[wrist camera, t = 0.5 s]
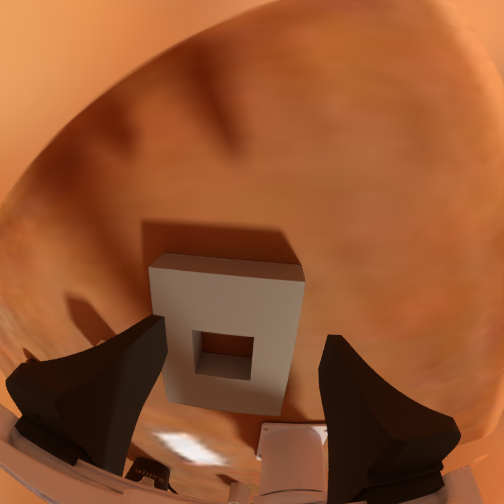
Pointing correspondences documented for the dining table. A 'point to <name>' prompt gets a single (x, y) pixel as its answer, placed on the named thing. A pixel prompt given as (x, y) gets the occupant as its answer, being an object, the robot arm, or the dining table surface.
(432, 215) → the dining table surface
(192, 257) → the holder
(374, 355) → the dining table surface
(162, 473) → the coffee mug
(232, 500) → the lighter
